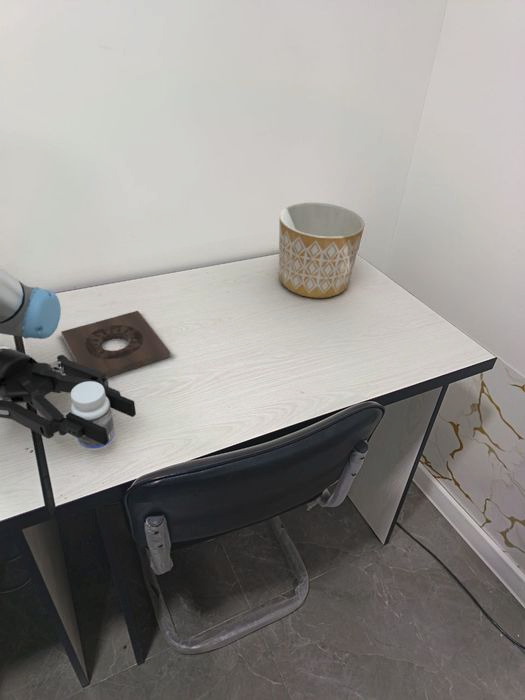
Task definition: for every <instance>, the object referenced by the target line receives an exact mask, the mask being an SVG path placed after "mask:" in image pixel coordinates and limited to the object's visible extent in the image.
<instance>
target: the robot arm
mask: <svg viewBox="0 0 525 700" xmlns="http://www.w3.org/2000/svg"><path fill="white" fill-rule="evenodd" d="M61 308H62V307H61V302H60V299H59V297H58V295H57V294H56V293H55V292H54V291H52V290H50V289H46V288H40V287H39V286H34V287H33V286H32V287H31V286H28V285H25V284H24V283H23V282H21V281H20V280H18V278H16V277H15V276H13V275H12V274H11V273H9V272H8V271H7V270H5V269H4V268H3V266H2V267H1V266H0V334H2V335H7V336H8V335H9V336H15V337H21V338H23V339H26V340H27V339H39V340H45V339H48V338H50V337H51V336H52V335H53V334H54V333H55V332H56V331H57V329H58V327H59V322H60V320H61V313H62V312H61V311H62V309H61ZM87 381H93V382H98V383H100V384H101V385H102V386H103V387H104V390H105V396H106V397H107V398H108V399H109V402H110V407H111V410H115V411H117V412H120V413H122V414H124V415H126V416H128V417H131V418H134V417H135V416H136V415H137V412H136V403H135V400H132V399H130V398H128V397H125V396H123V395H121V391H119V390H117V389H115V388H112V387H111V386H109V380H108V378H107V375H106V374H105V373H103V372H100V371H97V370H94V369H92V368H89V367H86V366H84V365H81V364H78V363H76V362H75V361H72V360H70V359H69V358H68V357H67V356H66V355H64V354H58V355H57V356H56V361H54V362H51V363H48V362H39V361H37V360H35V358H33V357H32V356H30V355H29V354H26V353H24V352H22V351H19V350H16V349H13V348H12V347H9V346H7V345H5V344H2V343H0V398H1V399H0V418H1V419H6V420H12V421H14V422H16V423H18V424H20V425H22V426H23V427H24V428H27V429H29V430H31V431H32V432H34V433H36V434H38V435H40V436H43V437H44V438H46V439H52V438H53V437H54V436H55V434H56V433H58V435H59V436H65V435H67V434H69V435H71V436H73V437H75V438H77V437H78V438H81V437H82V436H83V435H84V436H86V437H88V438H90V439H92V440H95V441H97V442H99V443H101V444H103V445H106V444H107V443H108V442H109V441H108V436H107V431H106V428H104V427H102V426H99V425H97V424H95V423H93V422H90V421H88V420H86V419H84V418H82V417H79V416H77V415H75V414H73V413H71V411H68V413H66V414H65V415H64V413H62V412H61V411H60V410H59V409H58V408H57V407H55V405H53V403H51V402H50V400H49V399H47V398H46V396H47V395H48V394H50V393H55V394H60V393H68V394H71V391H72V389H73V388H74V387H75V386H76V385H78V384H80V383H83V382H87ZM22 403H24V404H25V403H27V404H29V405H30V406H31V407H32V408H33V409H34V410H35V411H38V412H39V413H40V414H41V415H39V414H38V413H36V412H34V411H32V410H30V409H28V408H26V407H24V406H22V405H20V404H22Z"/></svg>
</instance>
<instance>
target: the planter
mask: <svg viewBox="0 0 525 700" xmlns="http://www.w3.org/2000/svg"><path fill="white" fill-rule="evenodd" d="M365 224H366V223H365V221H364V219H363V218H362V216H360V215H359V214H358V213H356V212H355V211H353V210H351V209H348V208H346V207H343V206H340V205H337V204H331V203H324V202H303V203H295V204H293V205H292V204H291V205H289V206H287V207H285V208H284V209H282V210H281V212H280V213H279V225H278V226H279V230H278V231H279V233H278V234H279V235H278V236H279V237H278V277H279V280H280V282H281V283H282V285H283V286H284V287H285V288H286V289H288V290H289V291H291V292H292V293H294V294H296V295H299V296H303V297H305V298H311V299H312V298H314V299H323V298H324V299H325V298H332V297H334V296H337V295H339V294H341V293H342V292H344V291H345V290H346V289H347V287H348V286H349V284H350V280H351V277H352V273H353V269H354V265H355V262H356V258H357V256H358V251H359V247H360V244H361V241H362V237H363V233H364V229H365V226H366V225H365Z"/></svg>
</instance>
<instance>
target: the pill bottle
mask: <svg viewBox="0 0 525 700" xmlns="http://www.w3.org/2000/svg"><path fill="white" fill-rule="evenodd" d="M70 401H71V404H70V413H73V414H75V415H77V416H79V417H82V418H84V419H86V420H88V421H90V422H93V423H95V424H97V425H99V426H102V427H104V428H106V431H107V436H108V441H109V442H108V443H107V444H106V445H103V444H101V443H99V442H97V441H95V440H92V439H90V438H88V437H86V436H84V435H83V436H82V437H81V438H78V437H76V438H77V442H78V444H79V445H80V446H81V447H82V448H83V449H85V450H86V451H87V450H88V451H99V450H102V449H104V448H106V447H109V445H111V443H113V441H114V439H115V436H116V432H115V425H114V420H113V415H112V408H111V407H110V402H109V399H108V398H107V397H106V396H105V390H104V387H103V386H102V385H101V384H100V383H98V382H93V381H87V382H83V383H80V384H78V385H76V386H75V387H74V388H73V389H72V391H71V393H70Z"/></svg>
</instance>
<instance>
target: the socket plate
mask: <svg viewBox="0 0 525 700" xmlns="http://www.w3.org/2000/svg"><path fill="white" fill-rule="evenodd" d="M60 333H61V337H62V339H63V342H64V343H65V345H66V347H67V348H68V351H69V353H70V355H71V356H72V358H73V360H74V362H75V363H78V364H81V365H84V366H86V367H89V368H92V369H94V370H97V371H100V372H103V373H105V374H106V375H107V379H109V378H111V377H114V376H117V375H118V376H119V375H121V374H124V373H127V372H129V371H133V370H136V369H138V368H139V369H140V368H142V367H146V366H148V365H151V364H154V363H157V362H161V361H163V360H167V359H169V358H171V351H170V349H168V347H167V346H166V345H165V344H164V342H163V341H162V340H161V338H160V337H159V335H158V334H157V333H156V332H155V331H154V329H153V328H152V327H151V325H150V324H149V323H148V322H147V320H146V319H145V317H144V316H143V315H142V314H141V313H140V312H139V311H138V310H134V311H131V312H128V313H123V314H120V315H117V316H113V317H109V318H105V319H102V320H98V321H94V322H92V323H87V324H84V325H80V326H77V327H73V328H69V329H65V330H61V331H60ZM113 339H121V340H125V341H127V342H128V344H127V345H126V346H124V347H123V348H120V349H117V350H108V349H105V348H103V347H101V346H102V345H103V344H104V343H105V342H107V341H110V340H113Z"/></svg>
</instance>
